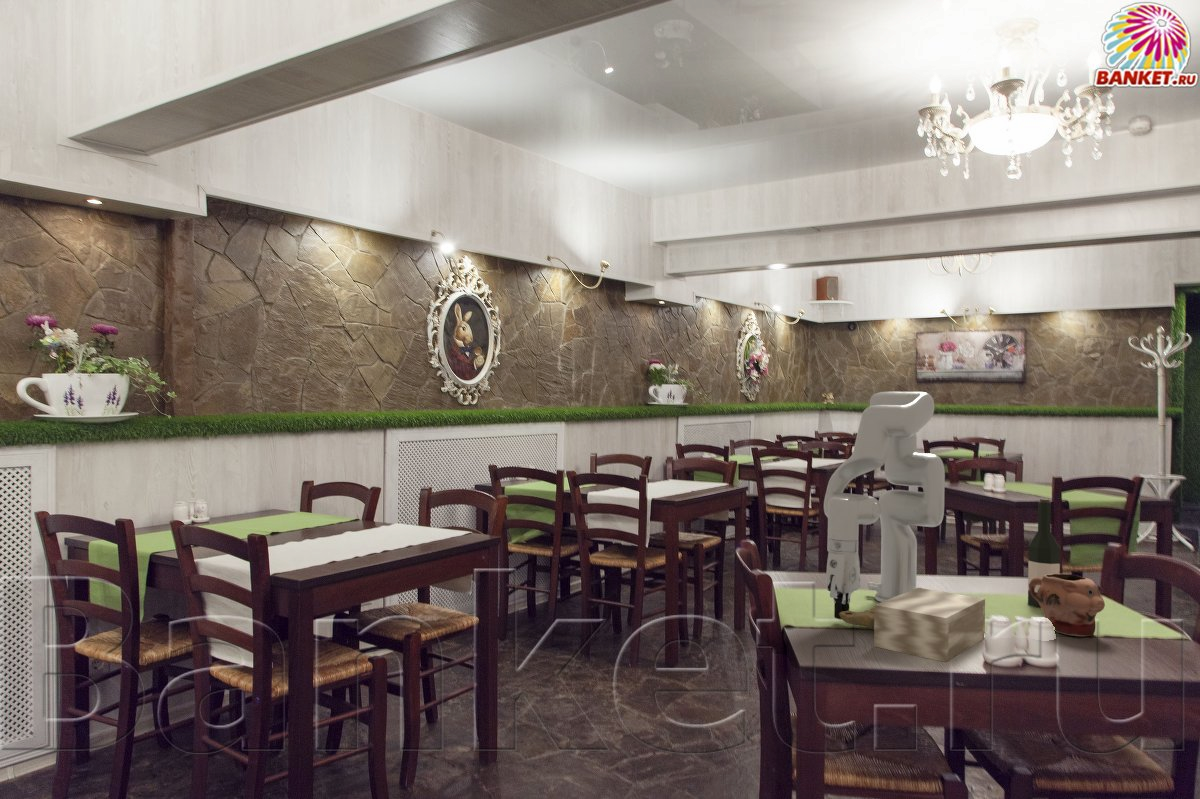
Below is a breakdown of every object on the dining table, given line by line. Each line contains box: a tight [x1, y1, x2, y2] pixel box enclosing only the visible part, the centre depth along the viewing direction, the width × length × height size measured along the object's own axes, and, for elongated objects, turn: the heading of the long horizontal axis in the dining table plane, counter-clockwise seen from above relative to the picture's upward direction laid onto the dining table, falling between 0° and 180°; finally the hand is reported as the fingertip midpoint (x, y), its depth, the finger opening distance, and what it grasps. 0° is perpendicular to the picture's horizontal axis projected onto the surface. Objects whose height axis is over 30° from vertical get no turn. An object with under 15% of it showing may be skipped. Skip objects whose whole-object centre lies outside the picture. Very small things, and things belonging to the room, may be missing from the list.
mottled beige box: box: [873, 587, 986, 663], centre depth 189 cm, size 16×26×10 cm, turn 137°
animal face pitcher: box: [1029, 573, 1106, 637], centre depth 201 cm, size 20×12×14 cm, turn 28°
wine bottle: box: [1027, 498, 1061, 609], centre depth 228 cm, size 8×8×30 cm
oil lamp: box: [839, 607, 875, 630], centre depth 198 cm, size 11×14×5 cm
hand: (841, 618), depth 203 cm, fingers closed
